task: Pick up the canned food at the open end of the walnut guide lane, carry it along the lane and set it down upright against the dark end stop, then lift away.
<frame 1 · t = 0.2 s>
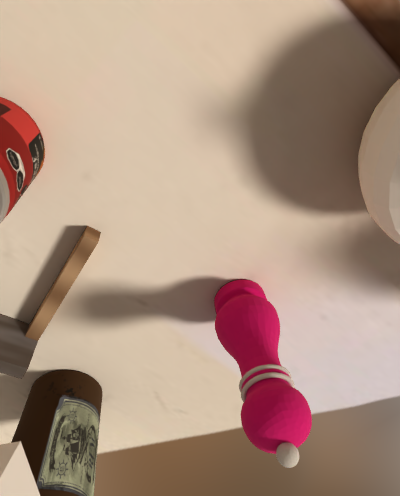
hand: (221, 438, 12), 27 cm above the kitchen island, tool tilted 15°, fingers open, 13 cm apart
canned food: (1, 139, 32), on the kitchen island
pepper mill: (238, 298, 45), on the kitchen island
olive oil: (68, 390, 51), on the kitchen island
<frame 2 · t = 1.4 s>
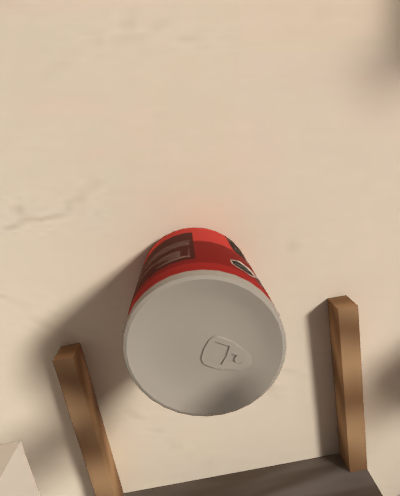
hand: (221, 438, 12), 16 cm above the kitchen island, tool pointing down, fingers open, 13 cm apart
canned food: (195, 273, 28), on the kitchen island
guide lane: (219, 404, 31), on the kitchen island
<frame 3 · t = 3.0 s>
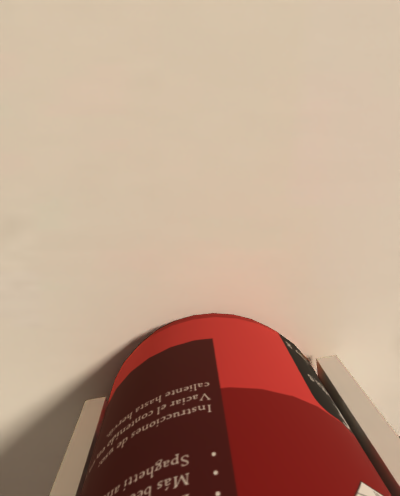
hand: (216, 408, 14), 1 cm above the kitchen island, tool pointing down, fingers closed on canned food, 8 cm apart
canned food: (214, 392, 15), on the kitchen island, touching gripper
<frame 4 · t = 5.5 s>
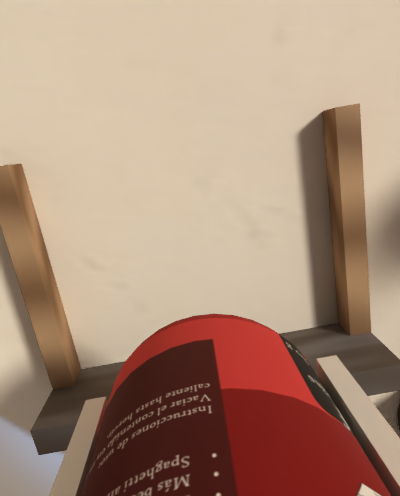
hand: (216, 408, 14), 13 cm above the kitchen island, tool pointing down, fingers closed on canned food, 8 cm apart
canned food: (214, 392, 15), point 12 cm above the kitchen island, touching gripper
guide lane: (193, 253, 26), on the kitchen island
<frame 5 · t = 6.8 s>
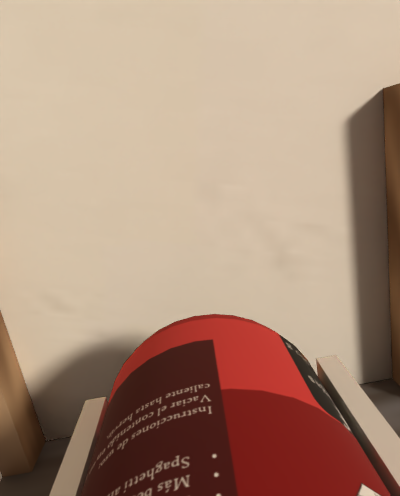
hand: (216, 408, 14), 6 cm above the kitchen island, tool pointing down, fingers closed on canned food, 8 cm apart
canned food: (214, 393, 15), point 5 cm above the kitchen island, touching gripper
guide lane: (197, 288, 19), on the kitchen island
when the fingers open (2 cm above the kitchen island, at t = 7.9 s): canned food drops 1 cm, on the kitchen island.
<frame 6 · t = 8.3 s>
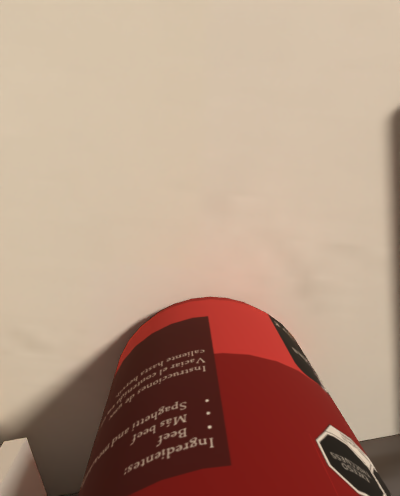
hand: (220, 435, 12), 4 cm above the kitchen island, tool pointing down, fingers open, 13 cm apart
canned food: (210, 370, 16), on the kitchen island
guide lane: (202, 322, 15), on the kitchen island
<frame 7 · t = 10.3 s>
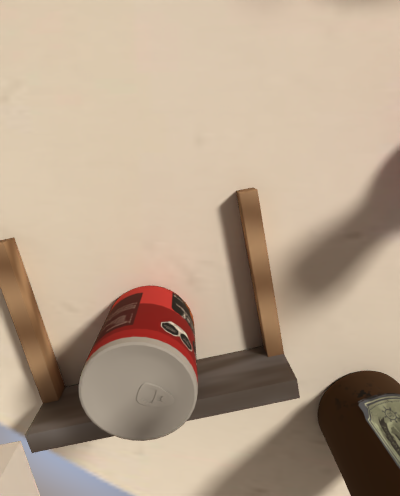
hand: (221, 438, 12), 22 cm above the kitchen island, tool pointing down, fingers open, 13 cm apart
canned food: (152, 319, 35), on the kitchen island
guide lane: (146, 297, 34), on the kitchen island
olive oil: (360, 407, 38), on the kitchen island
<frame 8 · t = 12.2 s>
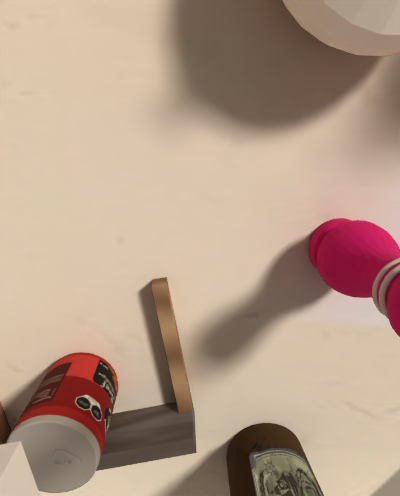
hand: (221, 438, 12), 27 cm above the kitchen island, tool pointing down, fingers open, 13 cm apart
canned food: (85, 379, 42), on the kitchen island
guide lane: (79, 361, 41), on the kitchen island
pepper mill: (336, 246, 39), on the kitchen island
olive oil: (263, 451, 46), on the kitchen island
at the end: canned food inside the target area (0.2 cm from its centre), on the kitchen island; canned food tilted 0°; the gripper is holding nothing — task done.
